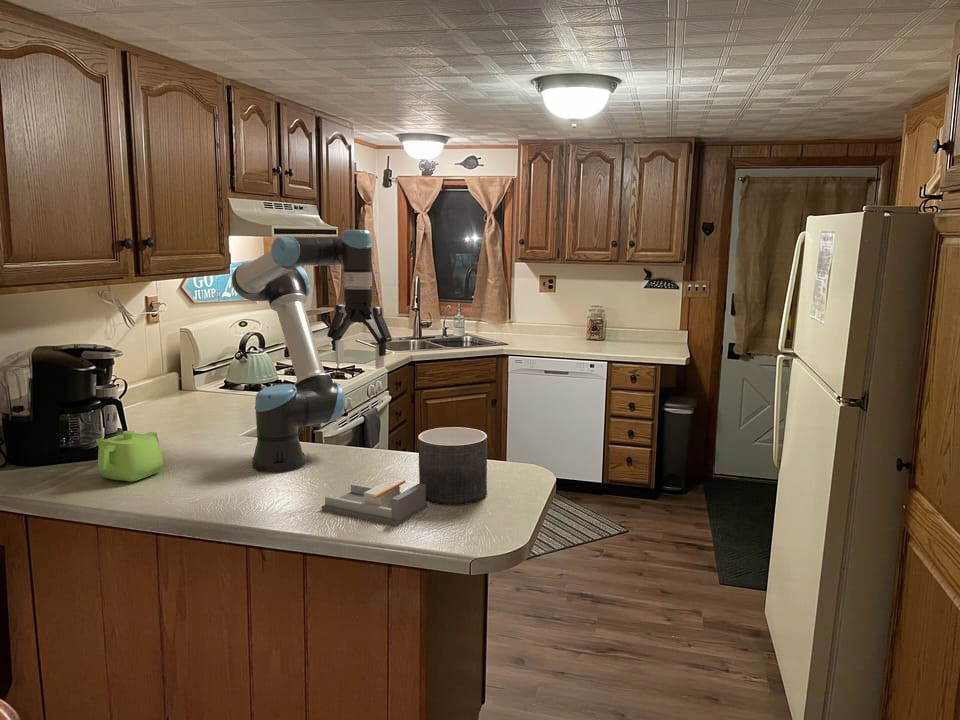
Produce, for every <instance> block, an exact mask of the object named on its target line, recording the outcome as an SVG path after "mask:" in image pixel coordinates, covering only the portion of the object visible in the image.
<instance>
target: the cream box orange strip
mask: <svg viewBox="0 0 960 720" xmlns="http://www.w3.org/2000/svg"><path fill="white" fill-rule="evenodd" d="M403 484H406V480H402V481H400V482H398V483H396V484H391V483H385V482H382V483H381V484H378V485H376V486H373V487H374V488H372V489H370V490H368V491H366V492H364V503H367V504H372V505H377V506H382V507H387V508H389V507H391V499H392V498H393V497H395V496H397V495H399V494H400V491H401V490H400V489H401V488H400V487H401V486H402V485H403Z"/></svg>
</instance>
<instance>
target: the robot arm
mask: <svg viewBox="0 0 960 720" xmlns="http://www.w3.org/2000/svg"><path fill="white" fill-rule="evenodd" d="M372 247H373V245H372V236H371V231H369V230H367V229H345V230H343V232H342V236H290V235H288V236H281V237H280V236H279V237H276V238H275V239H273V242H272V245H271V249H270V250H269V251H267V252H266V253H264V254H263V255H261V256H259V257H258V258H256V259H254V260H253V261H246V262H243V263H242V264H240V265H238V266H237V267H236V268H235V269H234V271H233V273H232V275H231V285H232V288H233V289H234V291H235V293H237V295H239V296H240V297H241V298H243V299H245V300H248V301H253V302H268V304H269V307H270V309H271V310H272V311H274V312H276V314H277V317H278V320H279V324H280V326H281V330H282V333H283V337H284V340H285V344H286V347H287V350H288V354H289V357H290V360H291V364H292V367H293V371H294V374H295V377H296V381H295V382H294V384H291V383H284V384H275V385H271V386H267V387H265V388H262V389H261V390H259V391H258V392H257V393H256V395H255V404H254V410H255V420H256V421H255V422H256V437H257V439H256V440H257V441H256V446H255V449H254V453H253V456H252V459H251V463H252V469H253V470H255V471H258V472H260V473H285V472H289V471H294V470H298V469H300V468H302V467H303V466H305V464H306V454H305V452H303V447H302V445H301V443H300V439H299V428H301V427H303V428H304V427H308V426H313V425H320V424H327V423H330V422H334V421H337V420H339V419H341V417H342V415H343V413H344V410H345V406H346V396H345V395H346V394H345V391H344V388H343V386H342V385H341V383H339V382H333V378H332V376H331V374H329V373H328V372H326V371H325V369H324V367H323V366H324V365H323V363H322V360H321V357H320V353H319V349H318V347H317V344H316V340H315V337H314V334H313V331H312V327H311V324H310V321H309V317H308V314H307V311H306V308H305V304H306V302H307V300H308V298H307V297H308V296H309V295H310V291H311V289H310V288H311V287H310V279H309V276H308V273H307V272H306V270H305V269H304V267H303V266H322V265H323V266H324V265H325V266H328V265H329V266H330V265H342V267H343V286H344V289H343V301H344V303H345V304H344V303H343V304H342V303H341V304H336V305H335V313H334V315H333V318H332V321H331V324H330V326H329V329H328V331H327V335H326V337H327V338H331V339H332V340H333V351H334V352H335V364H336V365H339V364H345V339H343V336H344V335H345V333H347V331H348V329H349V328H350V326H351V325H352V323H358V324H363V325H365V326H366V327H367V329H368V331H369V332H370V333H371V336H372V337H373V338H374V340H375V341H376V344H375V346H374V347H375V348H374V350H375V351H374V353H375V354H374V355H375V359H374V360H375V369H382V368H385V361H384V358H385V356H386V355H387V353H386V352H387V351H386V349H387V348H386V345H387V343H390V342H393V337H392V336H391V333H390V331H389V330H390V329H389V328H388V326H387V323H386V321H385V318H384V316H383V310H382V306H374V307H373V306H372V302H373V289H372V288H371V287H372V286H373V275H372V274H373V272H372V264H373V262H372V255H373V254H372V252H373V251H372ZM345 314H346V315H345Z"/></svg>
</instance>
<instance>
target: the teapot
mask: <svg viewBox="0 0 960 720" xmlns="http://www.w3.org/2000/svg"><path fill="white" fill-rule="evenodd" d="M95 441H96V444H97V447H98V449H97V451H98V452H97V470H98V473H99V474H100V476H101V477H102V478H104V479H109V480H112V481H113V480H114V481H123V482H127V483H134V482H136V481H138V480H142V479H144V478H145V479H146V478H147V477H149V476H152V475H155V474H158V473H159V472H161V470H162V468H163V465H164V463H163V462H164V461H163V460H164V459H163V455H162V450H161V448H160V443H159V437H158V433H157V431H155V432H154V431H150V432H146V433H136V432H135V431H134V430H125V431H123V432H121V434H118V435H114V436H111V437H109V438H105V437H101V438H96V439H95Z"/></svg>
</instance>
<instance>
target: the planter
mask: <svg viewBox="0 0 960 720" xmlns="http://www.w3.org/2000/svg"><path fill="white" fill-rule="evenodd" d="M417 440H418V442H417V443H418V477H419V478H418V479H419V481H418V482H419V483H418V484H424V485H426V503H431V504H434V505H440V506H464V505H469V504H474V503H477V502H480V501H482V500H483V499H485V498H486V496H487V495H488V486H487V485H488V484H487V483H488V481H487V479H488V474H487V473H488V434H487V433H486V432H484V431H482V430H479V429H475V428H470V427H455V426H454V427H453V426H452V427H438V428H437V427H436V428H433V429H428V430H424V431H423V432H421V433H420V434H418V437H417Z"/></svg>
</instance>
